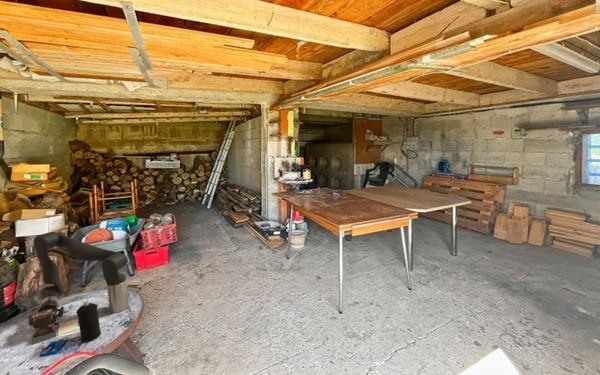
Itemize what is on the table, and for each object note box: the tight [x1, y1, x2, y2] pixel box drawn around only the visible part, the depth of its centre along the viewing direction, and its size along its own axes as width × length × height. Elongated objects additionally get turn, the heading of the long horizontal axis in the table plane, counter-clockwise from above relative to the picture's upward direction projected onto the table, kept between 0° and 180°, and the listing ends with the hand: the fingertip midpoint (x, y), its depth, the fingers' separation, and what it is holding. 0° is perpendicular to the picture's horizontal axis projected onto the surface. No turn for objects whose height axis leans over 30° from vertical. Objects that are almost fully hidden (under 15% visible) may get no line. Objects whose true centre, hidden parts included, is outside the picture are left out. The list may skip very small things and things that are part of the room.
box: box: [34, 309, 56, 336], centre depth 135 cm, size 6×4×12 cm
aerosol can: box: [75, 299, 102, 343], centre depth 134 cm, size 8×8×20 cm
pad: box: [57, 318, 79, 337], centre depth 141 cm, size 8×10×1 cm
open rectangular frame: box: [30, 321, 60, 346], centre depth 136 cm, size 9×11×3 cm
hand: (44, 324), depth 133 cm, fingers closed on box, 6 cm apart
